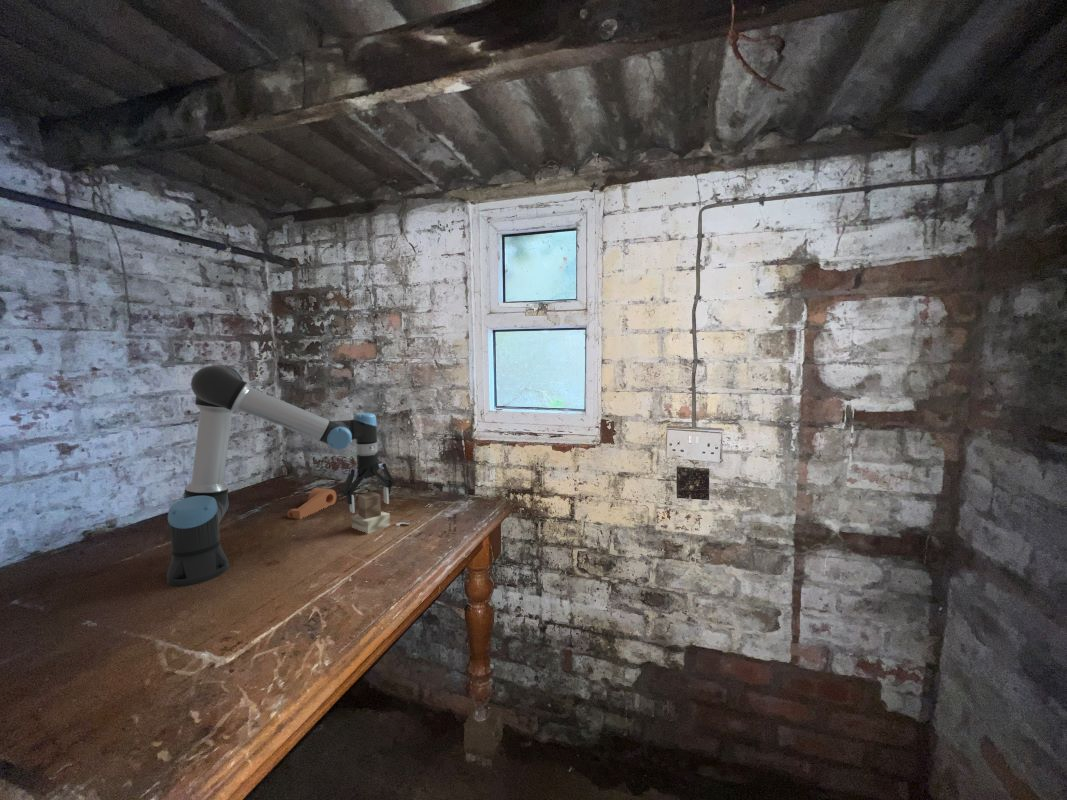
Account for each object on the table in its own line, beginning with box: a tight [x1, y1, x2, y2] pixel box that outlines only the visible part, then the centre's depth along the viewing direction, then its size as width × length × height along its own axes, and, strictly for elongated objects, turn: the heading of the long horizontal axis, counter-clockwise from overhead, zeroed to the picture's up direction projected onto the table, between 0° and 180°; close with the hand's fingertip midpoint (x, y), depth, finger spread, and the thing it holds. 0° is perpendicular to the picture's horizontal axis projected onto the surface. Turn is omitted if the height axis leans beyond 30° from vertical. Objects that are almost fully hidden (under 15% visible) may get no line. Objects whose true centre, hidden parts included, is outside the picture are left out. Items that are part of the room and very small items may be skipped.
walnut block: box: [357, 491, 382, 519], centre depth 166 cm, size 6×6×8 cm
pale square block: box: [350, 510, 391, 535], centre depth 167 cm, size 10×10×5 cm
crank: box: [286, 487, 337, 520], centre depth 184 cm, size 20×8×8 cm, turn 162°
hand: (369, 507), depth 166 cm, fingers open, 13 cm apart
